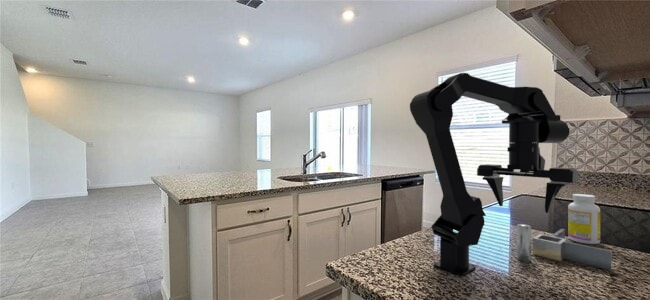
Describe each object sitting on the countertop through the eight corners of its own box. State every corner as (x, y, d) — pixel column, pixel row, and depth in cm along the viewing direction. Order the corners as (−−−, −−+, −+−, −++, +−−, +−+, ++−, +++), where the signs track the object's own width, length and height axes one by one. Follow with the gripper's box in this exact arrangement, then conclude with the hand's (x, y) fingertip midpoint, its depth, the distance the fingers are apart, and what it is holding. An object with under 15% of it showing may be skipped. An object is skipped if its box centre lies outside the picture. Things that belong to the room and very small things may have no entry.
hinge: (609, 273, 59) (609, 254, 59) (532, 254, 70) (532, 238, 69) (619, 255, 69) (619, 238, 68) (550, 241, 79) (550, 226, 79)
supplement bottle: (586, 237, 82) (587, 193, 82) (607, 245, 75) (607, 197, 75) (562, 236, 83) (562, 193, 83) (580, 244, 76) (580, 197, 76)
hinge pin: (528, 262, 65) (528, 227, 65) (515, 259, 67) (515, 225, 67) (532, 259, 66) (532, 225, 66) (519, 256, 68) (519, 223, 68)
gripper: (583, 143, 64) (582, 211, 64) (493, 143, 79) (493, 199, 79) (572, 142, 57) (571, 219, 57) (476, 143, 72) (475, 204, 72)
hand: (522, 209), depth 67 cm, fingers open, 9 cm apart
